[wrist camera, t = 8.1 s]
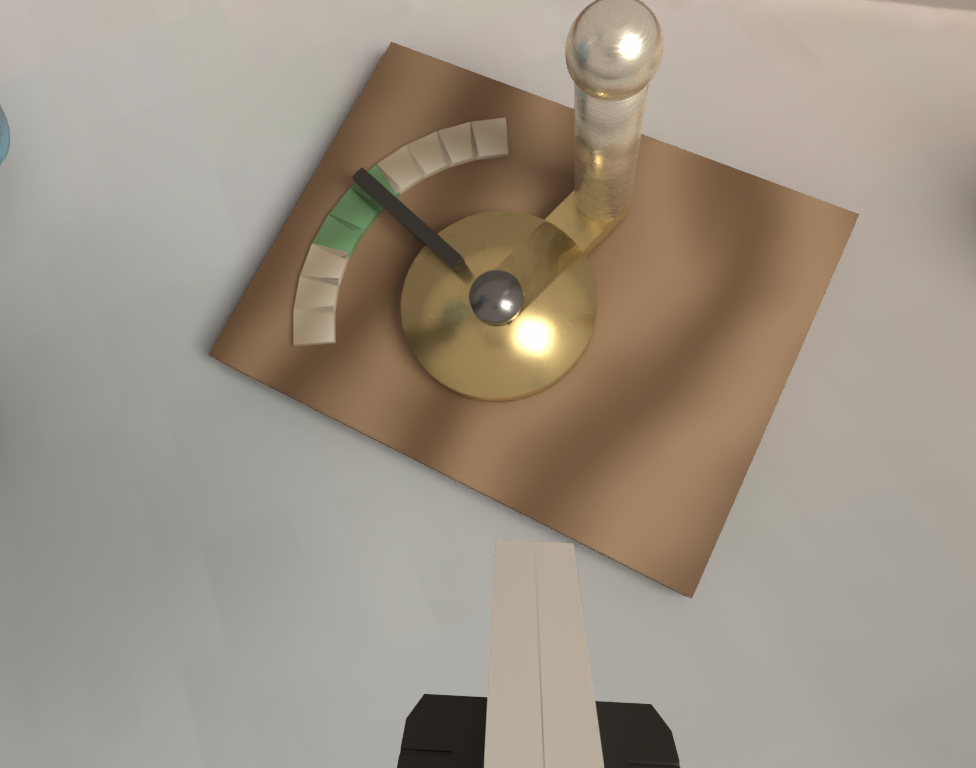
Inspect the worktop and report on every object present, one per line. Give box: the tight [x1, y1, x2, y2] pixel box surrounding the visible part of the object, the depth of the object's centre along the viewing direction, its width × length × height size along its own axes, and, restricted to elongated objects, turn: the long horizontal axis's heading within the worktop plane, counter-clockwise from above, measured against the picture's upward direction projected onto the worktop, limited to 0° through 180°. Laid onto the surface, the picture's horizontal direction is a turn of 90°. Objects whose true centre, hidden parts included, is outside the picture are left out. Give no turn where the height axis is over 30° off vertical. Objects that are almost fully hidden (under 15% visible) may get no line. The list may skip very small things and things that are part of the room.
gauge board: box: [209, 42, 859, 598], centre depth 35 cm, size 25×19×2 cm
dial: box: [352, 0, 663, 402], centre depth 28 cm, size 13×13×13 cm
